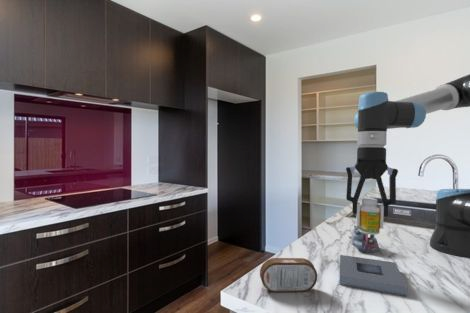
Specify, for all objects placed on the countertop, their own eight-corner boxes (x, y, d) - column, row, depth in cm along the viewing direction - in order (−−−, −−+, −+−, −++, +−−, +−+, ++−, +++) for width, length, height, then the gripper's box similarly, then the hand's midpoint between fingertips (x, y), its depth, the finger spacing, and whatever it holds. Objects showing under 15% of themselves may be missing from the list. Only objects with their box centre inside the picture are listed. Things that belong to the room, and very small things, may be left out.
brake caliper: (388, 250, 94) (366, 221, 96) (361, 265, 97) (340, 237, 99) (381, 239, 105) (361, 214, 107) (357, 254, 108) (338, 228, 110)
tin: (314, 287, 73) (315, 256, 73) (318, 293, 70) (319, 261, 70) (259, 287, 72) (259, 257, 72) (261, 294, 69) (261, 262, 69)
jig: (395, 270, 83) (395, 262, 83) (406, 296, 68) (407, 286, 68) (340, 262, 89) (340, 254, 89) (339, 284, 74) (339, 275, 74)
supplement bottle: (368, 235, 75) (369, 201, 75) (354, 230, 80) (355, 197, 80) (384, 234, 77) (384, 200, 76) (369, 229, 82) (370, 197, 82)
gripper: (337, 146, 78) (335, 225, 78) (411, 146, 71) (409, 234, 72) (337, 146, 85) (335, 219, 85) (405, 147, 78) (403, 226, 78)
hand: (369, 226), depth 78 cm, fingers closed on supplement bottle, 5 cm apart
